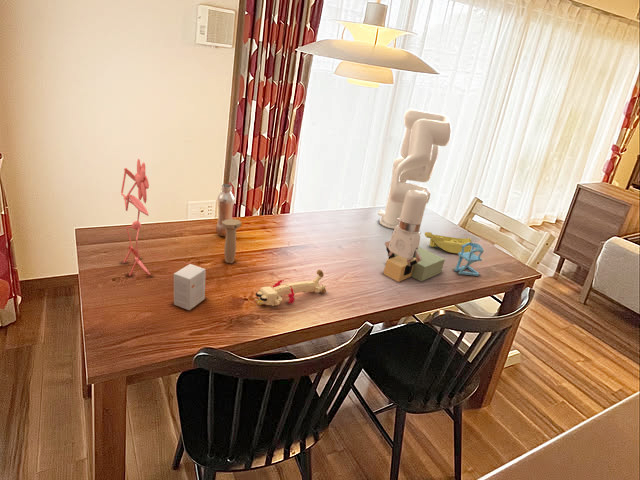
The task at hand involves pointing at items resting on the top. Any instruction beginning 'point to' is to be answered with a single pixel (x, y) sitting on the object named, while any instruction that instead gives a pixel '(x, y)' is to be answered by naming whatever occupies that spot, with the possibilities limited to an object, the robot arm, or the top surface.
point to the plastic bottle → (224, 207)
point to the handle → (230, 239)
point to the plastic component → (449, 243)
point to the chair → (469, 259)
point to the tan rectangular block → (396, 268)
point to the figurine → (137, 206)
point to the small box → (189, 286)
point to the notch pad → (427, 265)
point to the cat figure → (288, 290)
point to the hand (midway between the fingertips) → (398, 269)
